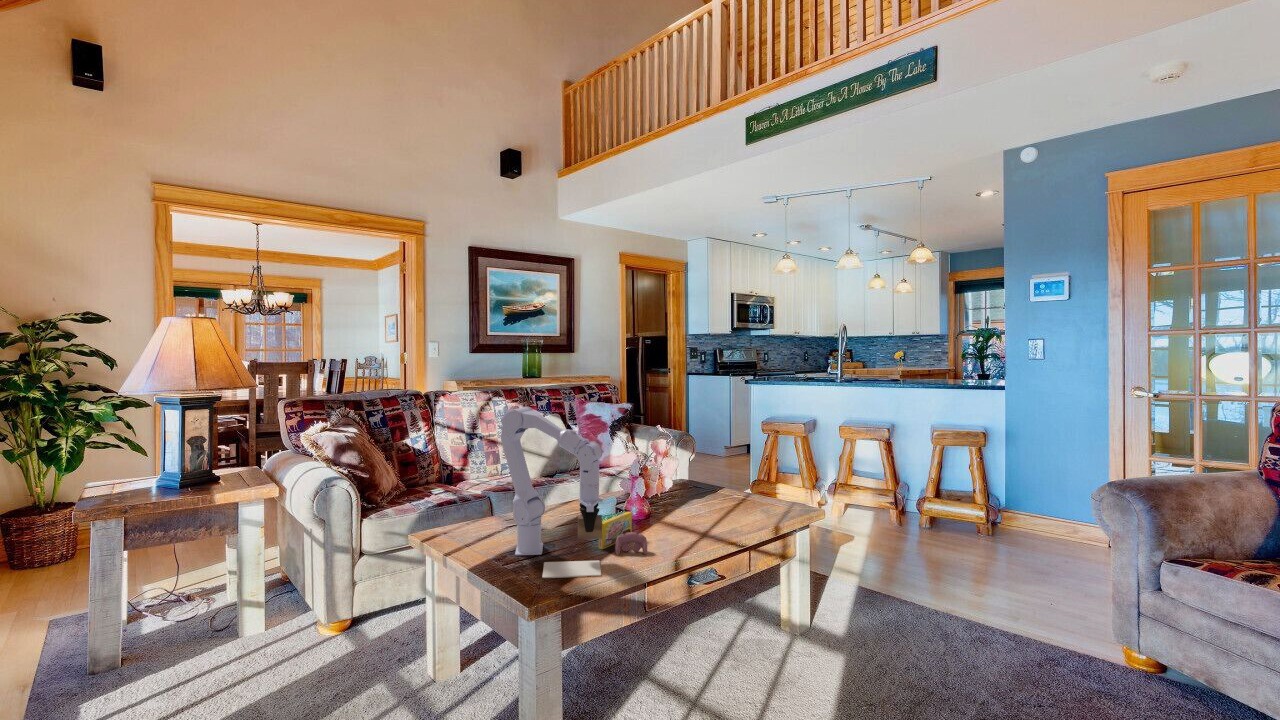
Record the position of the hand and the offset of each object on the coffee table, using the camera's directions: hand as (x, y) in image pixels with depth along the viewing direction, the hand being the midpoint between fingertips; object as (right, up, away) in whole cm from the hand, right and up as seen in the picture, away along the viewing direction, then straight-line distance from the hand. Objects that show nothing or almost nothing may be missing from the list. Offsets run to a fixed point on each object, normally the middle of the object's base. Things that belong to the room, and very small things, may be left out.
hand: (589, 529), depth 181 cm
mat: (-4, -9, -8) cm, 13 cm away
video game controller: (+12, -9, +7) cm, 17 cm away
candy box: (+7, -9, +16) cm, 20 cm away
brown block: (0, -2, 0) cm, 2 cm away
